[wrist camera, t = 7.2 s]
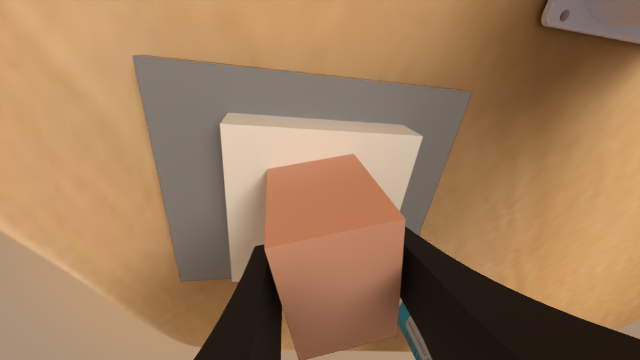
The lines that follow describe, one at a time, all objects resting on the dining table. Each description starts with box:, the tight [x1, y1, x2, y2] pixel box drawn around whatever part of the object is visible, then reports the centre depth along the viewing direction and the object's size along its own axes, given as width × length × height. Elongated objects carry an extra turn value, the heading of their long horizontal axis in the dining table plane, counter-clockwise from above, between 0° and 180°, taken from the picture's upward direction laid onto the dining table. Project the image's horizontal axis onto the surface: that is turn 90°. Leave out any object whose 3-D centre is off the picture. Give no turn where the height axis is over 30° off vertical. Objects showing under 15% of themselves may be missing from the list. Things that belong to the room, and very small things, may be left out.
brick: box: [264, 154, 406, 360], centre depth 10 cm, size 4×6×5 cm, turn 7°
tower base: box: [132, 55, 472, 282], centre depth 14 cm, size 16×13×3 cm
